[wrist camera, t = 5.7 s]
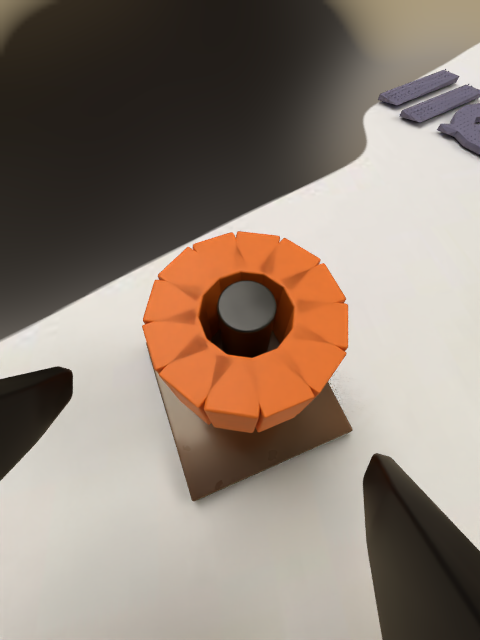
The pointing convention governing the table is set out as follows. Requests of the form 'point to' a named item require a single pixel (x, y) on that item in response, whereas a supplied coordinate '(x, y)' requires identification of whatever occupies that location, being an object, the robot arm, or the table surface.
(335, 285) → the ring
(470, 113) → the signage
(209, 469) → the stand
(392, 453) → the table surface
